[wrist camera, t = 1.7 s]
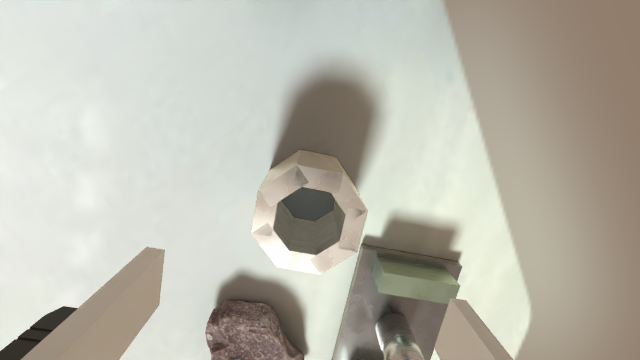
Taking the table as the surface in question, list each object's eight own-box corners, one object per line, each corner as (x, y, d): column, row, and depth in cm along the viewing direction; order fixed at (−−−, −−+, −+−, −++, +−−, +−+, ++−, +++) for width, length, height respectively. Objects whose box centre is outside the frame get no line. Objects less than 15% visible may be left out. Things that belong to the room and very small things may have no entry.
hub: (274, 144, 29) (263, 158, 22) (360, 161, 30) (375, 180, 23) (260, 226, 31) (246, 261, 24) (341, 240, 31) (350, 279, 25)
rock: (269, 280, 32) (262, 308, 28) (313, 365, 35) (314, 403, 31) (197, 308, 33) (179, 341, 29) (246, 390, 36) (237, 431, 31)
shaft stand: (361, 244, 32) (378, 291, 24) (457, 261, 32) (504, 312, 25) (327, 376, 35) (332, 454, 27) (414, 388, 36) (443, 468, 28)
